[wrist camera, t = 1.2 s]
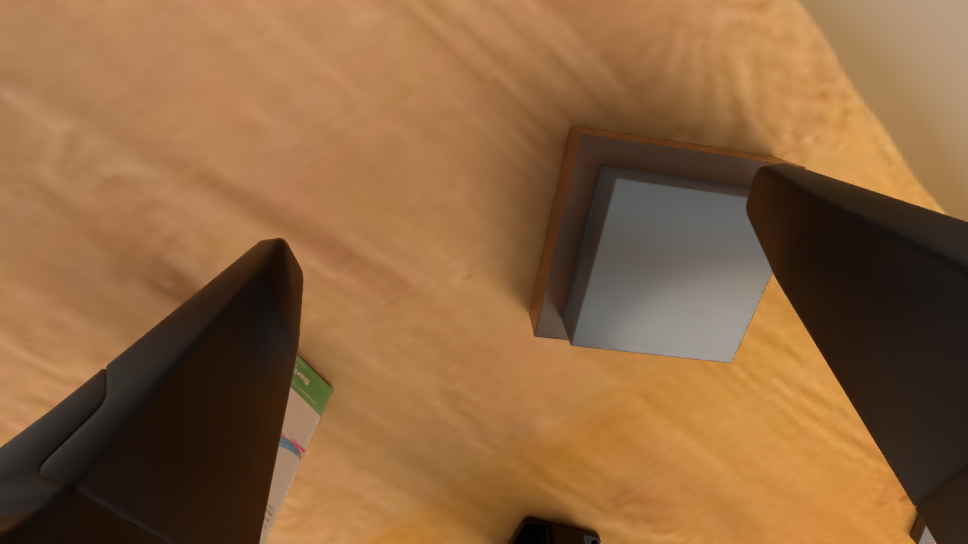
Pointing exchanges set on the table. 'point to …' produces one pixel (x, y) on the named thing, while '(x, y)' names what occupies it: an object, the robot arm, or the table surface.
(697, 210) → the block stack
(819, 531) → the table surface
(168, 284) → the table surface
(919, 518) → the cone
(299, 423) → the ink box
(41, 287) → the table surface
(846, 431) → the table surface
